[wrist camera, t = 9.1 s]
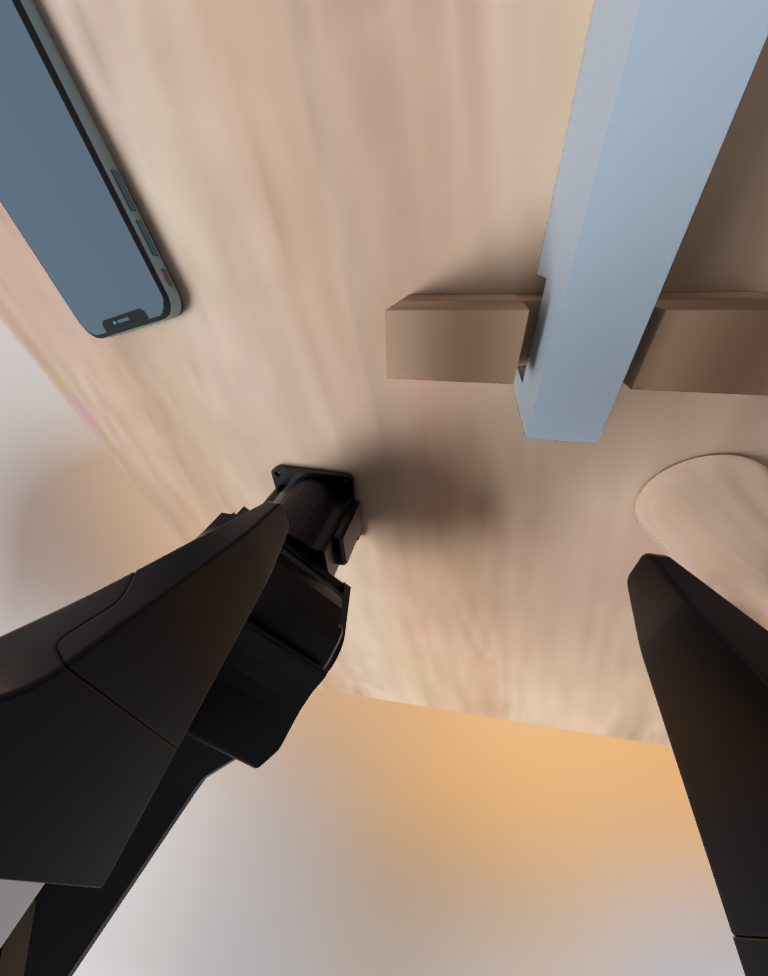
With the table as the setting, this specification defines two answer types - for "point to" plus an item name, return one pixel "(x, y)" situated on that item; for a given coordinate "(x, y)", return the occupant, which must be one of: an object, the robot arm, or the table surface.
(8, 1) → the smartphone
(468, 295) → the tan wooden plank
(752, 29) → the pale blue upright post
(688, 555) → the beer glass
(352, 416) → the table surface
